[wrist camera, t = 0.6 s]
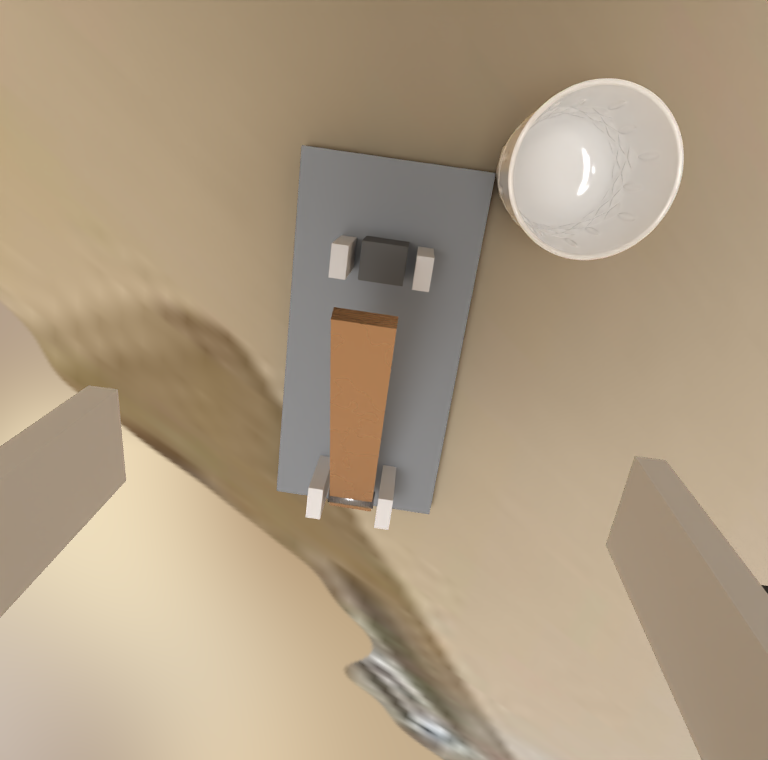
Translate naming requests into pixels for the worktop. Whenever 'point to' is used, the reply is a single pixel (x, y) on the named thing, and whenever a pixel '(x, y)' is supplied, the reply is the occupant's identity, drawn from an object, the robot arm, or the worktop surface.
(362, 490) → the strap
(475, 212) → the mount
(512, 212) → the white cup
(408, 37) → the worktop surface
